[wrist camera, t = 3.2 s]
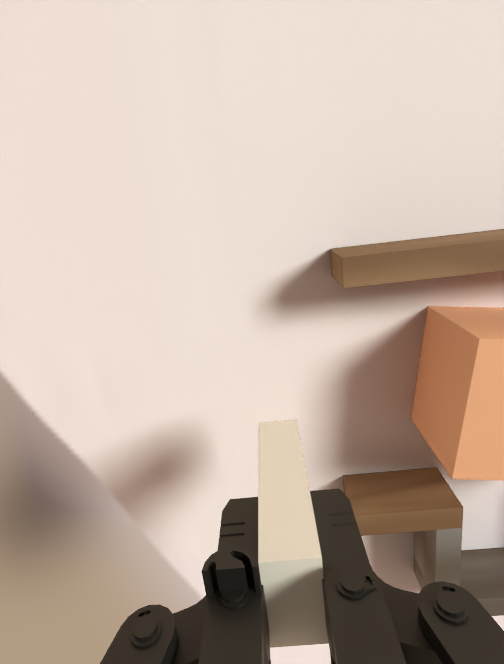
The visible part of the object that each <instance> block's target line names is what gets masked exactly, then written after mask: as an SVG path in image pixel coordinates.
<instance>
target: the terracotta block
mask: <svg viewBox="0 0 504 664" xmlns="http://www.w3.org/2000/svg"><path fill="white" fill-rule="evenodd" d="M411 420H412V421H413V423H414V424H415V426H416V427H417V429H418V430H419V432H420V433H421V434H422V436H423V437H424V439H425V440H426V442H427V443H428V445H429V446H430V448H431V449H432V450H433V452H434V453H435V455H436V456H437V458H438V459H439V461H440V462H441V464H442V465H443V466H444V468H445V469H446V471H447V472H448V474H449V475H450V477H451V478H452V479H469V480H504V308H487V307H443V306H428V310H427V316H426V323H425V329H424V336H423V342H422V349H421V356H420V362H419V369H418V375H417V382H416V388H415V395H414V402H413V408H412V415H411Z"/></svg>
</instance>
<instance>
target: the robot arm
mask: <svg viewBox="0 0 504 664" xmlns="http://www.w3.org/2000/svg"><path fill="white" fill-rule="evenodd" d="M202 575H203V580H204V585H205V591H206V596H205V597H204V598H203V599H202V600H201V601H199V602H198V603H197V604H195V605H193V606H191V607H189V608H187V609H184V610H181V611H179V612H177V613H174V614H172V613H171V611H170V610H169V609H168V608H166V607H164V606H161V605H148V606H145V607H143V608H140V609H138V610H137V611H135V612H134V613H133V614H131V615H130V616H129V617H128V618H127V619H126V621H125V622H124V623H123V625H122V626H121V627H120V629H119V631H118V633H117V634H116V636H115V638H114V640H113V642H112V643H111V645H110V647H109V649H108V650H107V652H106V654H105V656H104V658H103V660H102V661H101V663H100V664H271V660H270V647H283V646H297V645H311V644H326V643H329V647H330V655H331V664H504V631H503V630H502V628H501V627H500V626H499V625H498V624H497V622H496V621H495V620H494V619H493V618H492V617H491V615H490V614H489V613H488V612H487V611H486V609H485V608H484V607H483V606H482V605H481V604H480V602H479V601H478V600H477V599H476V598H475V597H474V596H473V595H472V594H471V593H469V592H468V591H467V590H466V589H464V588H462V587H460V586H458V585H456V584H453V583H448V582H444V581H440V582H431V583H430V584H428V585H426V586H424V587H423V588H422V590H421V592H420V593H419V594H418V593H413V592H408V591H404V590H400V589H397V588H394V587H392V586H390V585H388V584H386V583H384V582H383V581H382V580H381V579H380V578H378V577H377V575H376V574H375V573H374V572H373V570H372V568H371V566H370V564H369V560H368V557H367V554H366V551H365V548H364V544H363V541H362V538H361V535H360V532H359V528H358V525H357V522H356V519H355V516H354V513H353V509H352V506H351V503H350V500H349V498H348V497H347V496H346V495H345V494H344V493H343V492H342V491H341V490H340V489H330V490H319V491H310V489H309V484H308V478H307V473H306V467H305V462H304V456H303V451H302V445H301V440H300V434H299V429H298V423H297V419H295V420H284V421H274V422H264V423H258V497H251V498H240V499H230V500H229V502H228V503H227V505H226V506H225V508H224V510H223V511H222V519H221V528H220V538H219V545H218V551H217V552H215V553H214V554H212V555H211V556H210V557H209V558H208V559H207V561H206V562H205V564H204V566H203V569H202Z"/></svg>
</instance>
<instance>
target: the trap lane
mask: <svg viewBox="0 0 504 664" xmlns="http://www.w3.org/2000/svg"><path fill="white" fill-rule="evenodd" d="M330 259H331V275H332V276H333V277H334V278H335V279H336V280H337V281H338V282H339V283H340V284H341V285H342V287H343V288H349V287H359V286H368V285H377V284H386V283H395V282H404V281H414V280H423V279H432V278H441V277H450V276H459V275H469V274H478V273H487V272H496V271H504V229H500V230H491V231H483V232H474V233H465V234H456V235H448V236H439V237H430V238H421V239H412V240H404V241H395V242H386V243H377V244H369V245H360V246H351V247H342V248H334V249H330ZM343 482H344V494H345V495H346V496H347V497H348V498H349V500H350V503H351V506H352V509H353V513H354V516H355V519H356V522H357V525H358V528H359V532H360V535H361V536H364V535H377V534H390V533H403V532H414V572H415V574H416V577H417V579H418V582H419V584H420V586H421V589H422V588H423V587H424V586H426V585H428V584H430V583H431V582H440V581H444V582H448V583H453V584H456V585H458V586H460V587H462V588H464V589H466V590H467V591H468V592H469V593H471V594H472V595H473V596H474V597H475V598H476V599H477V600H478V601H479V602H480V604H481V605H482V606H483V607H484V608H485V609H486V611H487V612H488V613H489V614H490V615H491V616H499V615H504V548H493V549H480V550H467V551H461V542H462V520H463V506H462V505H461V503H460V502H459V500H458V499H457V497H456V496H455V494H454V493H453V491H452V490H451V488H450V487H449V485H448V484H447V482H446V481H445V479H444V478H443V476H442V475H441V473H440V472H439V470H438V469H437V468H426V469H415V470H403V471H391V472H380V473H368V474H356V475H345V476H343Z"/></svg>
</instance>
